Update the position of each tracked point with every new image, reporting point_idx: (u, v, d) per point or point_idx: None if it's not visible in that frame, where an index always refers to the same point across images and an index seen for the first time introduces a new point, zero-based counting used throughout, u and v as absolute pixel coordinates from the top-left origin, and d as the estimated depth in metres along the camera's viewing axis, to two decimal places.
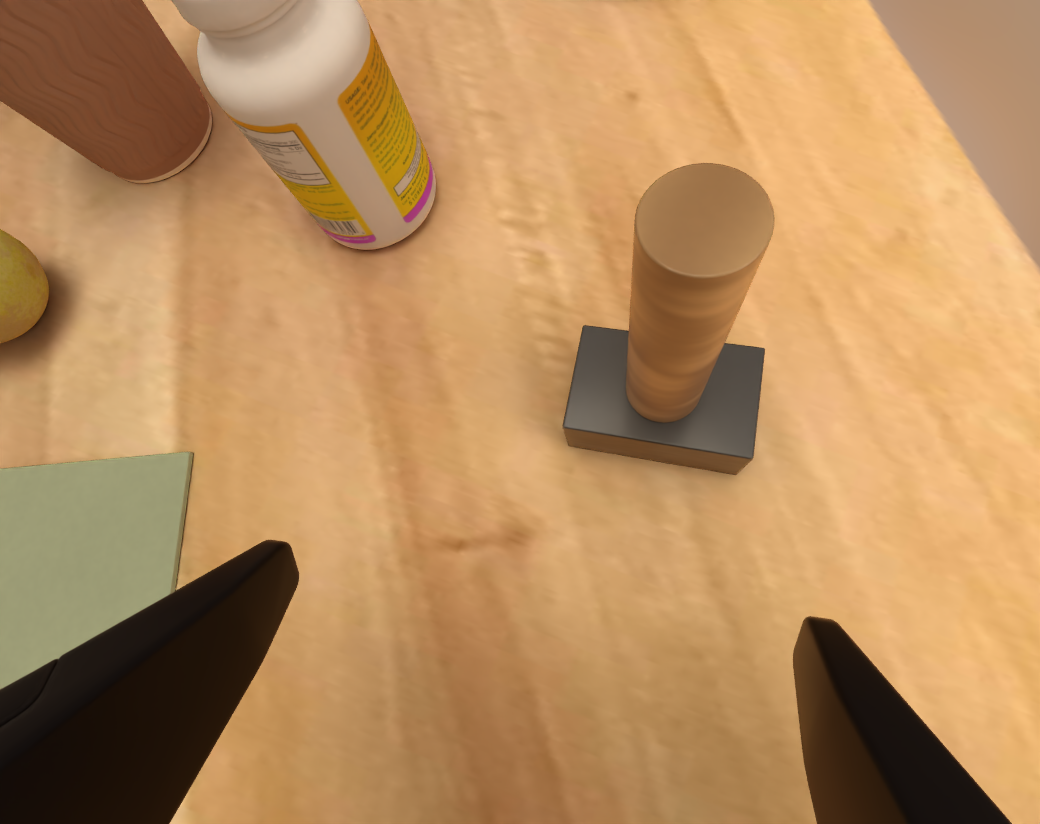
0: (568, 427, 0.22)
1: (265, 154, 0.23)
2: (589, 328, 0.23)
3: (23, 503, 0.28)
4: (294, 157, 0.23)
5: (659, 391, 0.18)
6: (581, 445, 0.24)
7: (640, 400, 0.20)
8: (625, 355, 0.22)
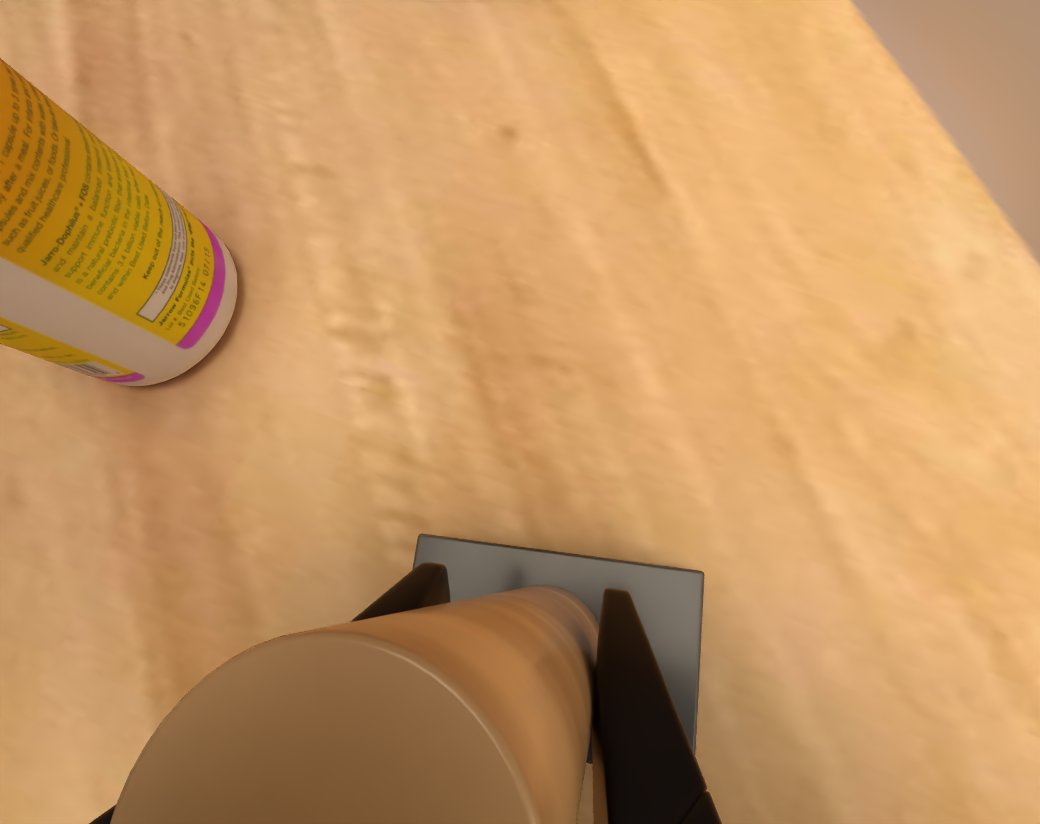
0: None
1: None
2: (427, 540, 0.14)
3: None
4: None
5: None
6: None
7: None
8: (483, 588, 0.14)
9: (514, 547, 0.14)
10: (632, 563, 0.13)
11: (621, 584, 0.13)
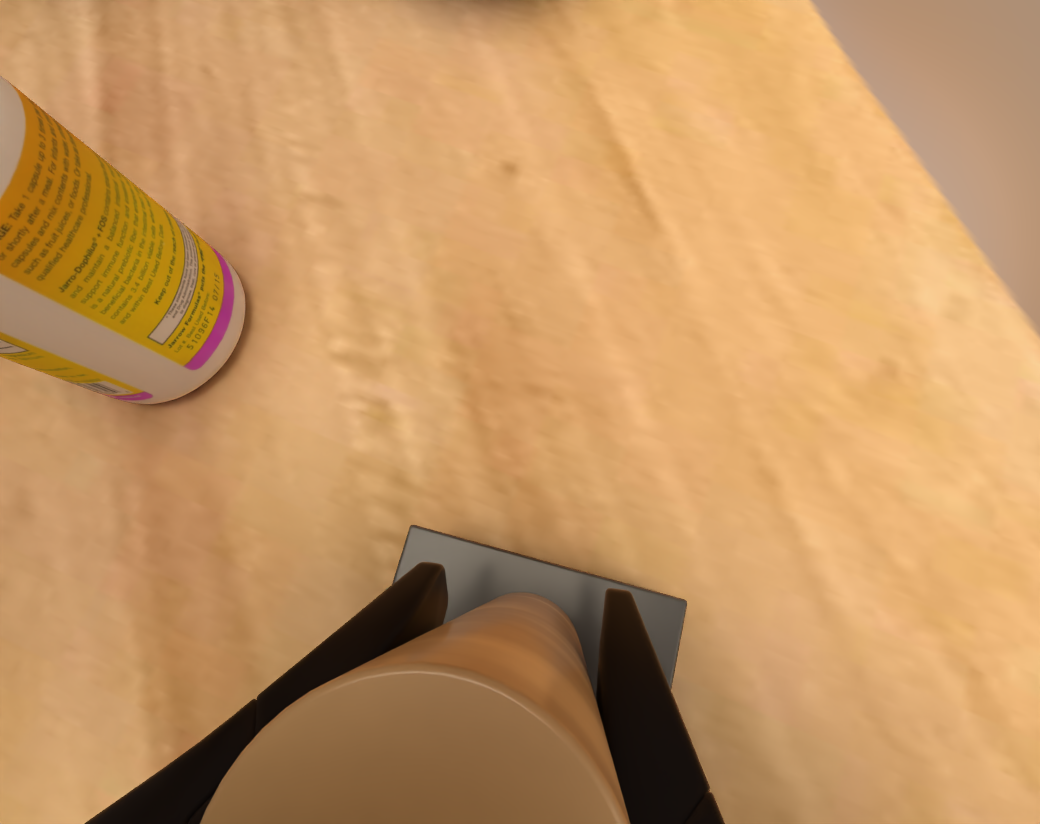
0: None
1: None
2: (419, 532, 0.14)
3: None
4: None
5: None
6: None
7: None
8: (469, 588, 0.14)
9: (505, 551, 0.14)
10: (619, 583, 0.14)
11: None
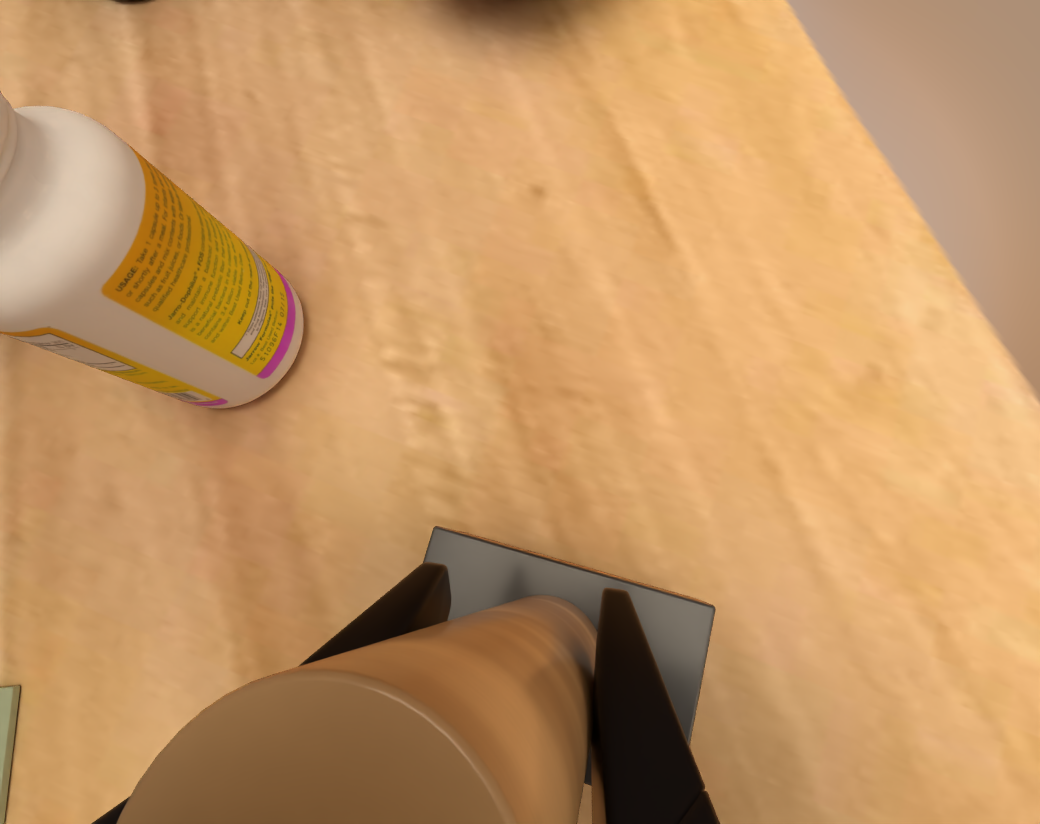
0: None
1: None
2: (442, 533, 0.14)
3: None
4: (70, 352, 0.17)
5: None
6: None
7: None
8: (491, 590, 0.14)
9: (527, 553, 0.14)
10: (643, 587, 0.13)
11: None
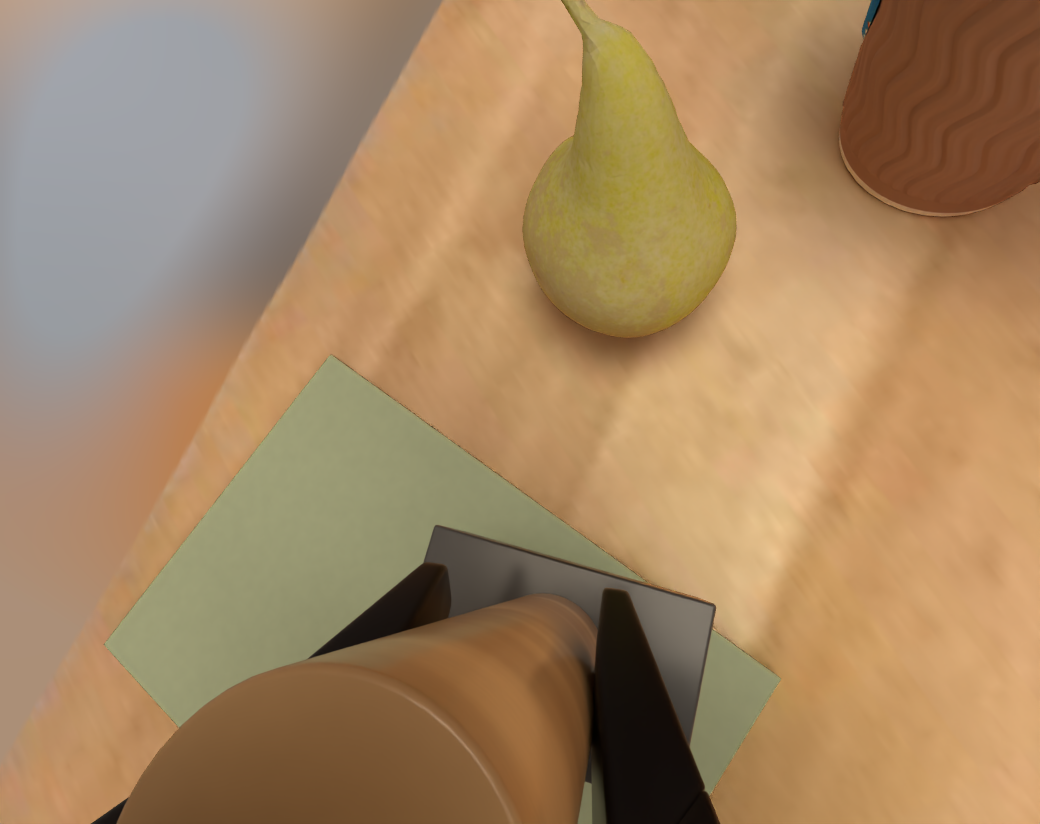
0: None
1: None
2: (443, 532, 0.14)
3: None
4: None
5: None
6: None
7: None
8: (491, 588, 0.14)
9: (528, 552, 0.14)
10: (644, 585, 0.13)
11: None
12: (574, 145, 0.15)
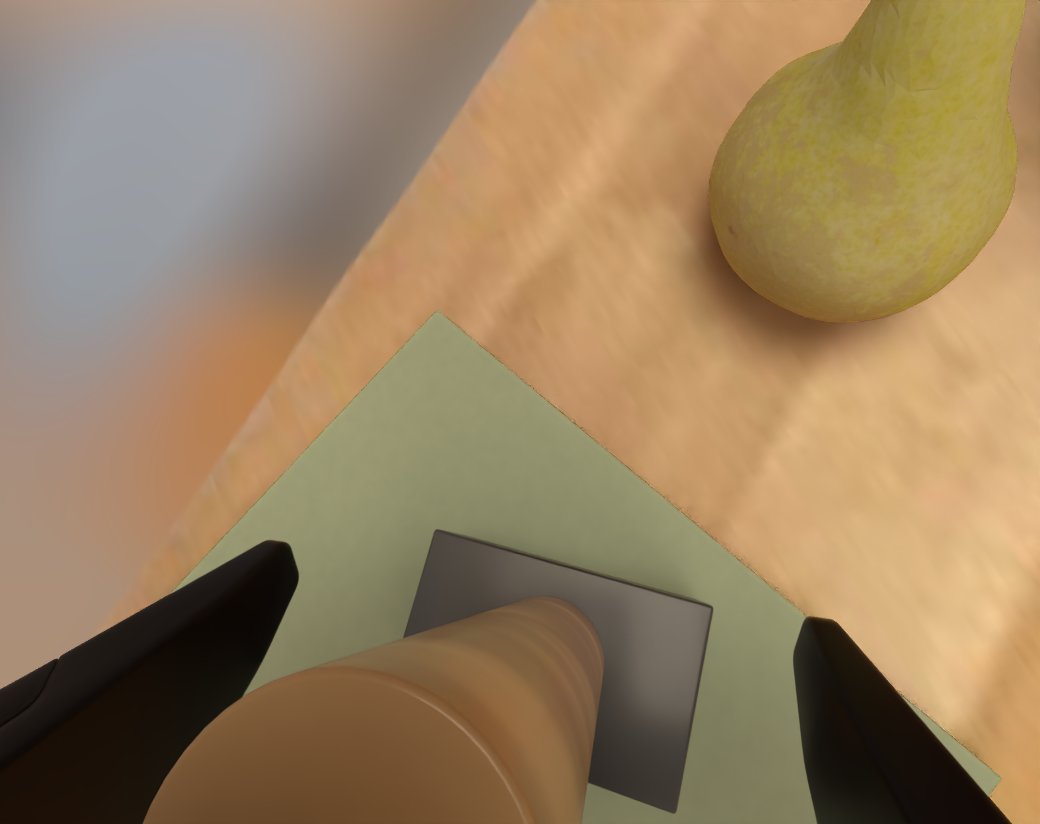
0: None
1: None
2: (443, 536, 0.14)
3: (664, 583, 0.16)
4: None
5: None
6: None
7: None
8: (492, 592, 0.14)
9: (527, 555, 0.14)
10: (642, 588, 0.13)
11: (629, 607, 0.13)
12: (854, 47, 0.11)
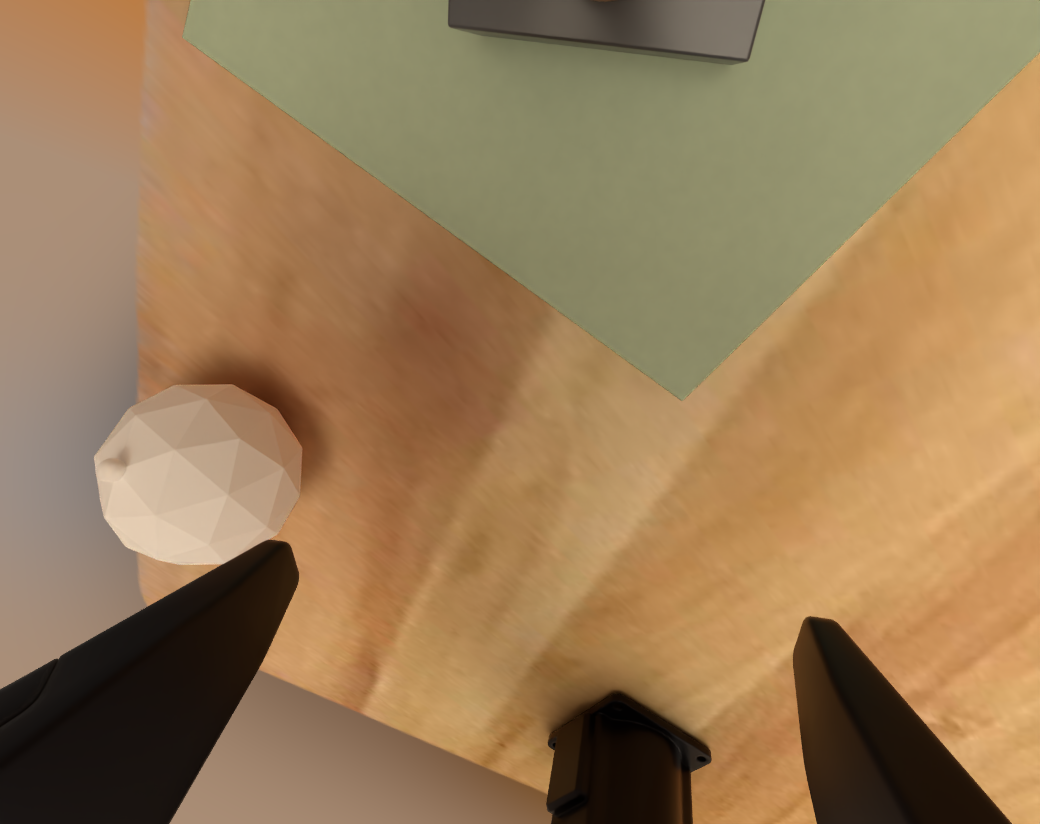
0: (456, 26, 0.13)
1: None
2: None
3: None
4: None
5: None
6: (496, 36, 0.15)
7: None
8: None
9: None
10: None
11: None
12: None
